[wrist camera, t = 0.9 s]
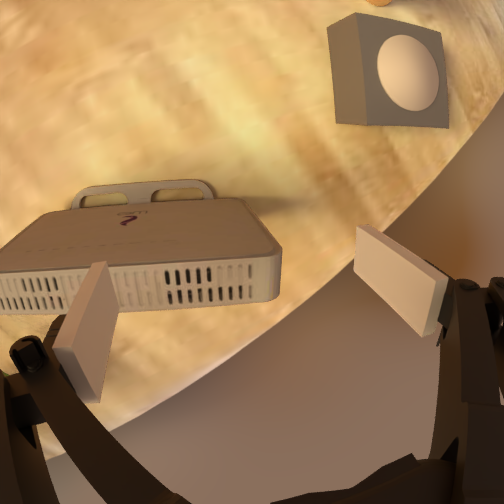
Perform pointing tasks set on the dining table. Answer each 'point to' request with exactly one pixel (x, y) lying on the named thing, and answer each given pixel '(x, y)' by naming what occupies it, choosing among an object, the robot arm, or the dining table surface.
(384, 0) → the beer glass
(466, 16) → the dining table surface
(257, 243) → the network device
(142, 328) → the dining table surface
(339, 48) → the plate
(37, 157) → the dining table surface
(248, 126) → the dining table surface
